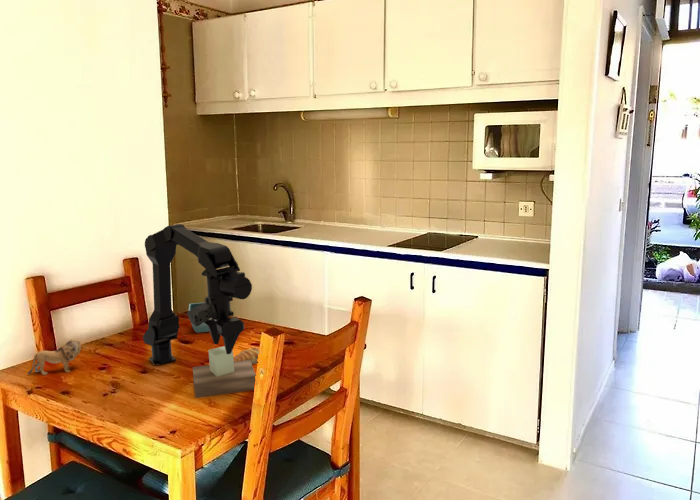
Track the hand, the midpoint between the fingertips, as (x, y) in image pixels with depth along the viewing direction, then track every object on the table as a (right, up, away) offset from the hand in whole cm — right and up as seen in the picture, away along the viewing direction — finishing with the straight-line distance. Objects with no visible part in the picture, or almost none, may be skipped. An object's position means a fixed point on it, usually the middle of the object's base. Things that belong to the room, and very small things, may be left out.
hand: (222, 348), depth 159 cm
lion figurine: (-52, -9, +14) cm, 54 cm away
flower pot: (-17, -2, +48) cm, 51 cm away
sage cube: (0, -6, +1) cm, 7 cm away
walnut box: (0, -11, +2) cm, 11 cm away
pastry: (+4, -7, +18) cm, 20 cm away
